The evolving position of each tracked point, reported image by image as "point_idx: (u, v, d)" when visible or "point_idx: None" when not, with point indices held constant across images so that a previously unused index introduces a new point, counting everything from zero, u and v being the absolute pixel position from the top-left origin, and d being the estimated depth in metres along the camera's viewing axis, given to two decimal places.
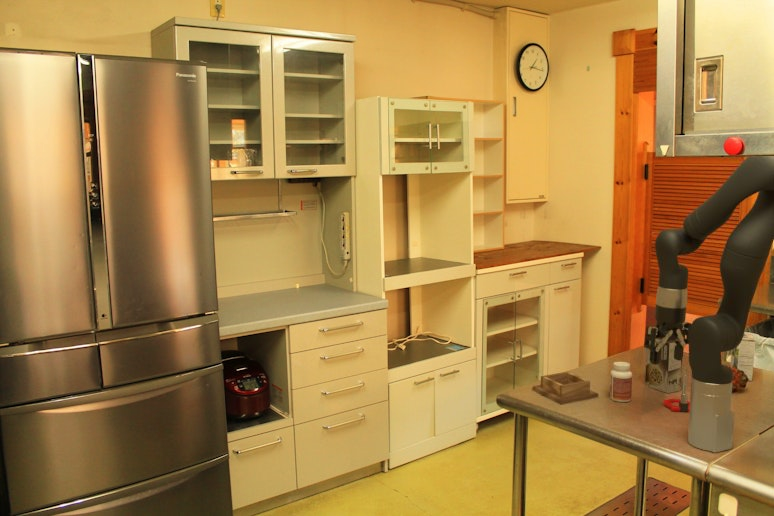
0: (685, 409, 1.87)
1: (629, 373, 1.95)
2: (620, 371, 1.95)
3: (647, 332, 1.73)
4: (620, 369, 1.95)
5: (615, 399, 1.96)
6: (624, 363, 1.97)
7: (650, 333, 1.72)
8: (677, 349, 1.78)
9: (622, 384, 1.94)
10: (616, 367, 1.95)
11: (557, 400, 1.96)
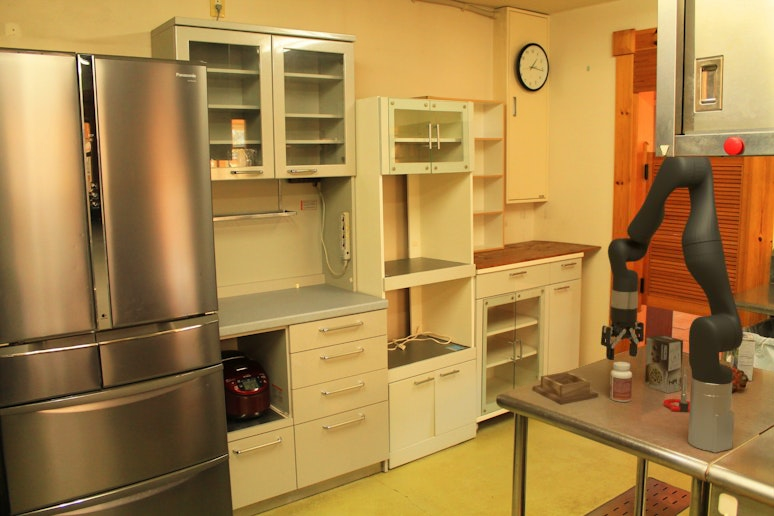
0: (685, 409, 1.87)
1: (629, 373, 1.95)
2: (620, 371, 1.95)
3: (603, 331, 1.93)
4: (620, 369, 1.95)
5: (615, 399, 1.96)
6: (624, 363, 1.97)
7: (605, 332, 1.92)
8: (631, 346, 1.97)
9: (622, 384, 1.94)
10: (616, 367, 1.95)
11: (557, 400, 1.96)
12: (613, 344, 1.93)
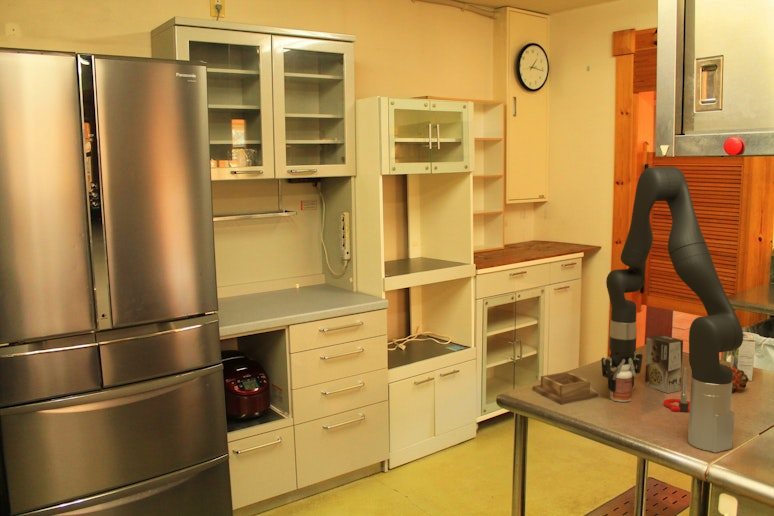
0: (685, 409, 1.87)
1: (629, 373, 1.95)
2: (620, 371, 1.95)
3: (602, 363, 1.94)
4: None
5: (615, 399, 1.96)
6: None
7: (605, 364, 1.93)
8: None
9: (622, 384, 1.94)
10: None
11: (557, 400, 1.96)
12: (614, 375, 1.94)
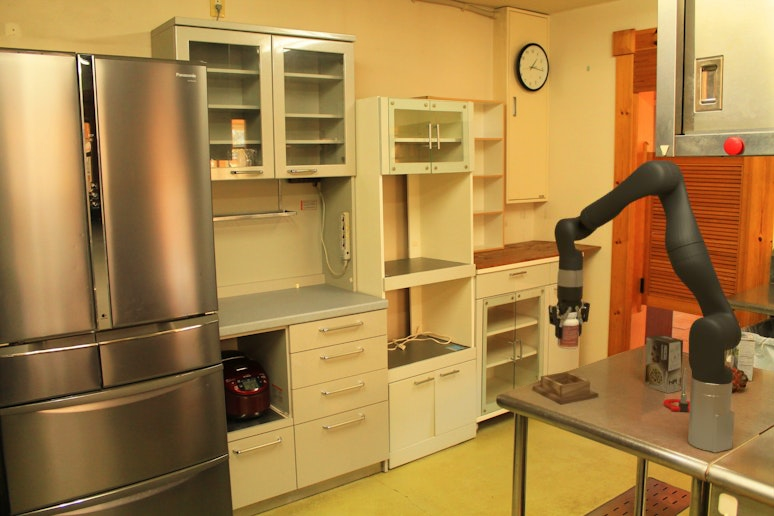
0: (685, 409, 1.87)
1: (575, 321, 1.98)
2: (567, 319, 1.98)
3: (549, 311, 1.98)
4: None
5: (562, 346, 1.99)
6: None
7: (551, 311, 1.97)
8: None
9: (568, 331, 1.98)
10: None
11: (557, 400, 1.96)
12: (561, 323, 1.98)
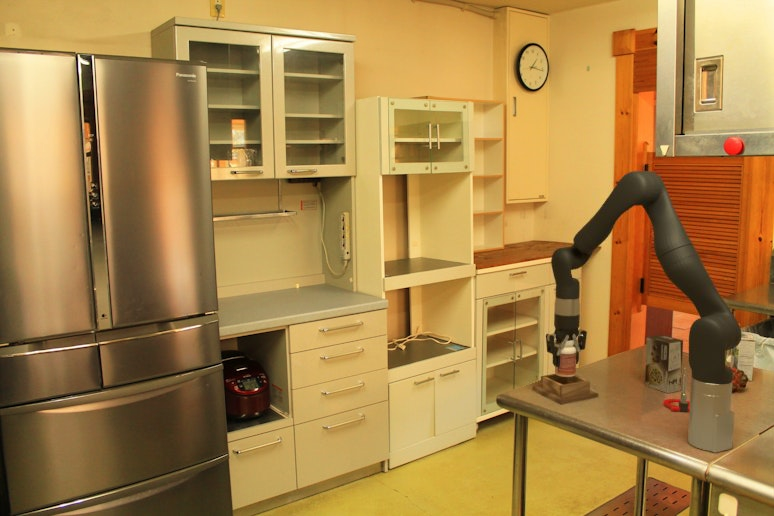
0: (685, 408, 1.87)
1: (573, 349, 1.99)
2: (564, 347, 1.99)
3: (547, 339, 1.99)
4: None
5: (559, 374, 2.00)
6: None
7: (549, 340, 1.98)
8: None
9: (566, 360, 1.99)
10: None
11: (557, 400, 1.96)
12: (558, 351, 1.99)
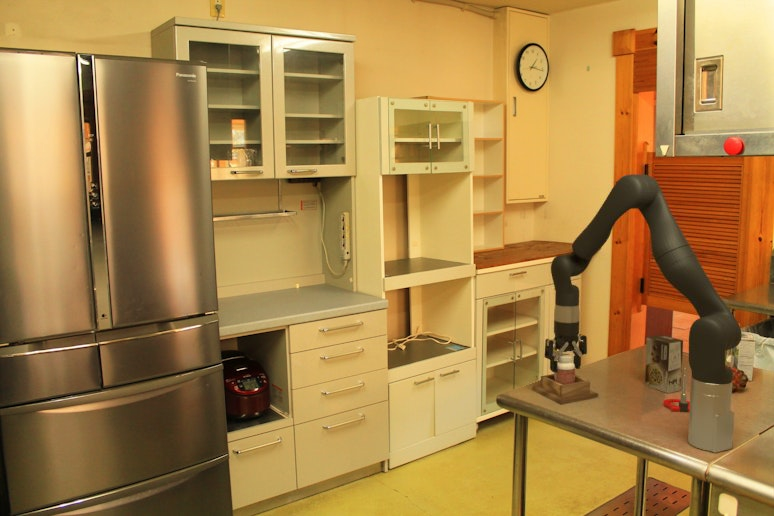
0: (685, 408, 1.87)
1: (571, 364, 2.00)
2: (563, 363, 2.00)
3: (546, 344, 1.99)
4: (563, 360, 2.00)
5: None
6: (567, 355, 2.02)
7: (548, 345, 1.98)
8: (575, 359, 2.03)
9: (564, 375, 1.99)
10: (559, 359, 2.00)
11: (557, 400, 1.96)
12: (556, 357, 1.99)
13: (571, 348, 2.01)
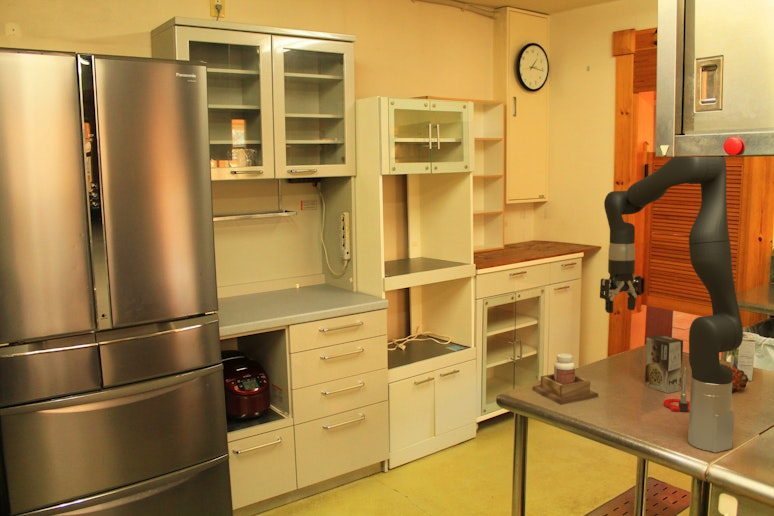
0: (685, 408, 1.87)
1: (571, 364, 2.00)
2: (563, 363, 2.00)
3: (601, 284, 1.94)
4: (563, 361, 1.99)
5: None
6: (567, 355, 2.02)
7: (604, 284, 1.93)
8: (629, 300, 1.99)
9: (564, 375, 1.99)
10: (559, 359, 2.00)
11: (557, 400, 1.96)
12: (612, 296, 1.94)
13: (626, 288, 1.96)
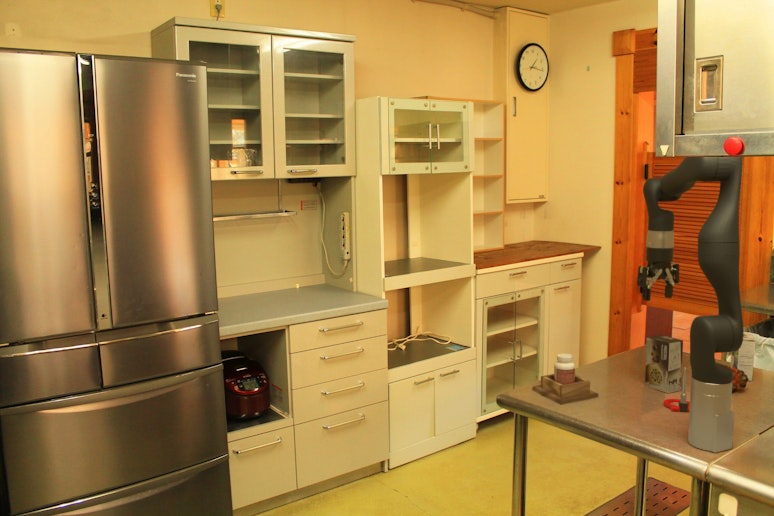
0: (685, 408, 1.87)
1: (571, 364, 2.00)
2: (563, 363, 2.00)
3: (639, 271, 1.93)
4: (563, 360, 2.00)
5: None
6: (567, 355, 2.02)
7: (642, 272, 1.92)
8: (667, 288, 1.97)
9: (564, 375, 1.99)
10: (559, 359, 2.00)
11: (557, 400, 1.96)
12: (649, 284, 1.93)
13: (664, 276, 1.95)
